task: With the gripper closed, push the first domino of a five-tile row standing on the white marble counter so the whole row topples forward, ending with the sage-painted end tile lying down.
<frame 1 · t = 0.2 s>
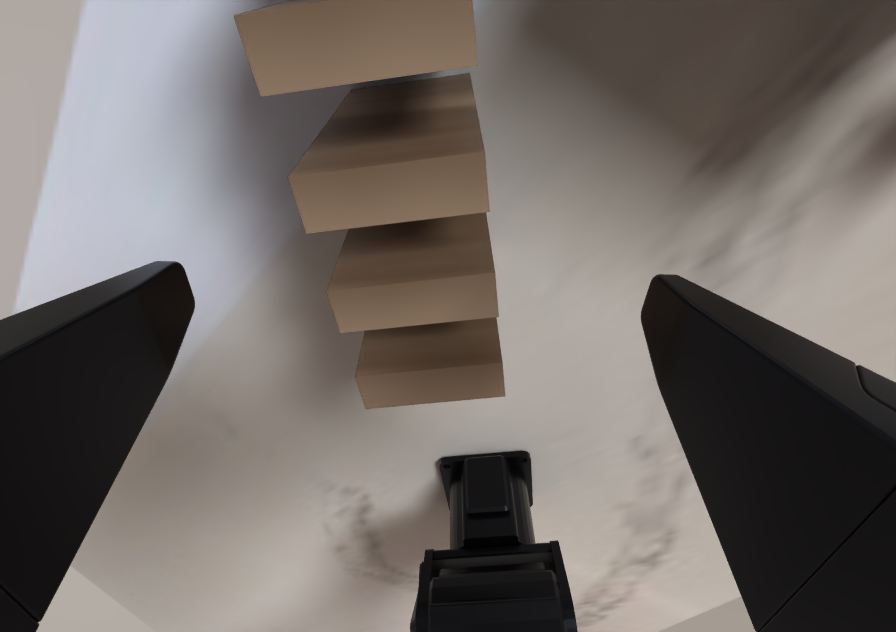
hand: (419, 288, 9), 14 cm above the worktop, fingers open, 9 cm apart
domino 1: (436, 247, 25), on the worktop
domino 4: (397, 5, 18), on the worktop
domino 2: (425, 181, 23), on the worktop
domino 3: (413, 102, 20), on the worktop
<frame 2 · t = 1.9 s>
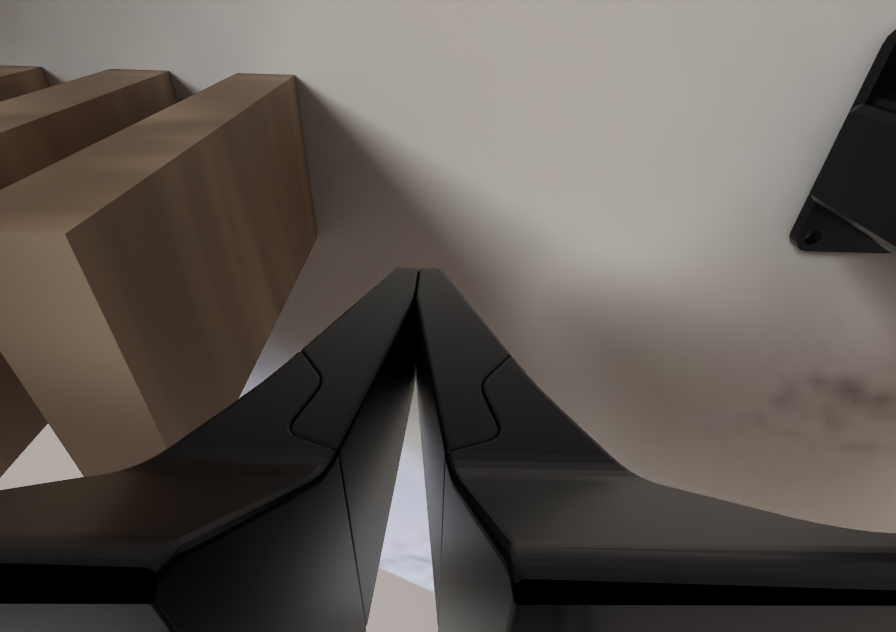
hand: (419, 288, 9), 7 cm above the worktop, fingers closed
domino 1: (281, 162, 15), on the worktop
domino 2: (167, 159, 15), on the worktop
domino 3: (52, 156, 15), on the worktop
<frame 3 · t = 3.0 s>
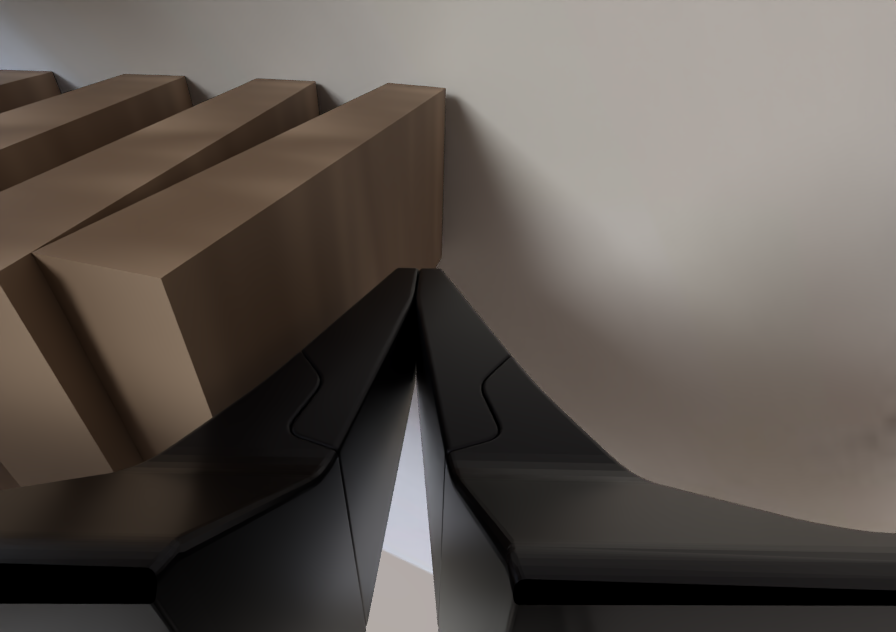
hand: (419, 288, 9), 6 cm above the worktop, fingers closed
domino 1: (417, 178, 14), on the worktop, tilted 15°
domino 4: (63, 164, 14), on the worktop
domino 2: (300, 172, 14), on the worktop
domino 3: (182, 168, 14), on the worktop
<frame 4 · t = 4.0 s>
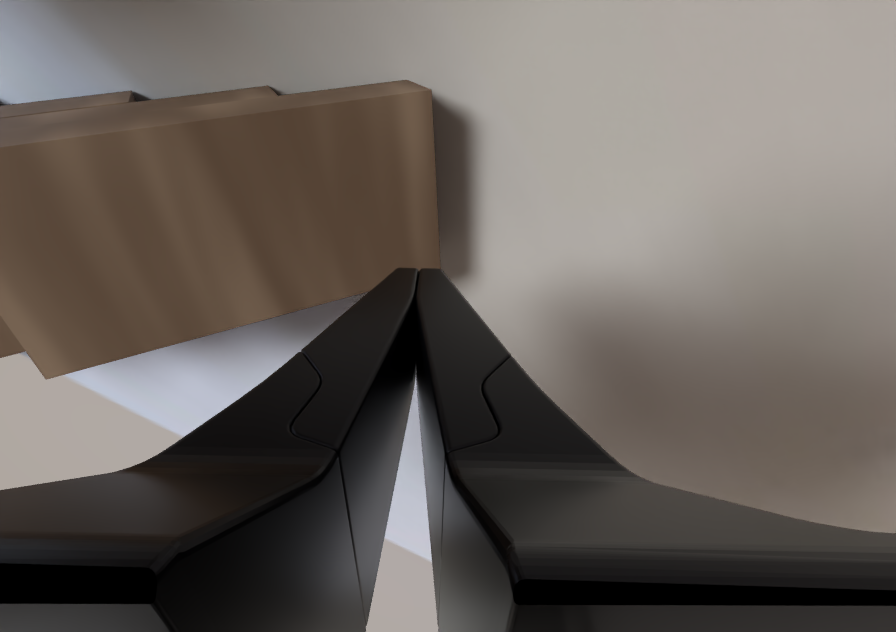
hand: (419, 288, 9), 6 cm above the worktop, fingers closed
domino 1: (424, 181, 14), point 1 cm above the worktop, tilted 64°, touching domino 2
domino 2: (295, 186, 14), point 1 cm above the worktop, tilted 64°, touching domino 1, domino 3
domino 3: (167, 190, 14), point 1 cm above the worktop, tilted 64°, touching domino 2, domino 4
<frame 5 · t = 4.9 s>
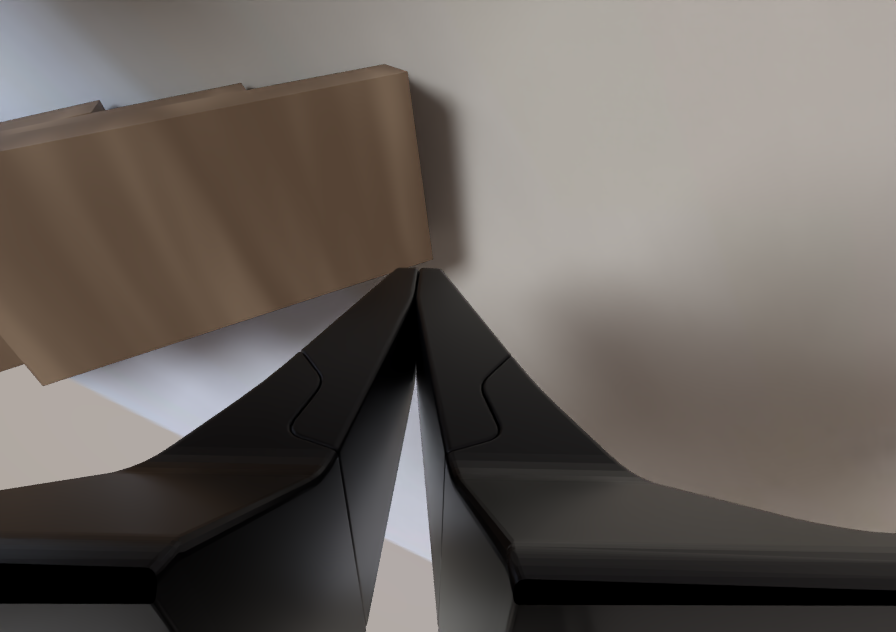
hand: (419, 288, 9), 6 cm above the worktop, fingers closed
domino 1: (410, 168, 13), point 1 cm above the worktop, tilted 64°, touching domino 2
domino 2: (277, 183, 13), point 1 cm above the worktop, tilted 65°, touching domino 1, domino 3
domino 3: (147, 197, 14), point 1 cm above the worktop, tilted 66°, touching domino 2, domino 4
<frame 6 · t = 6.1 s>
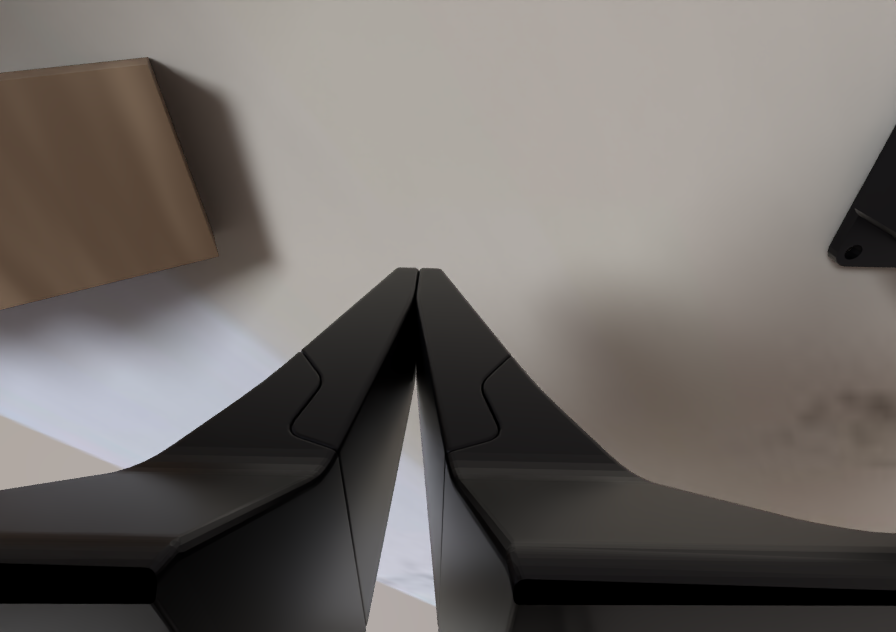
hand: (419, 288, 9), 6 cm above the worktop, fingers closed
domino 1: (185, 163, 13), point 1 cm above the worktop, tilted 64°, touching domino 2
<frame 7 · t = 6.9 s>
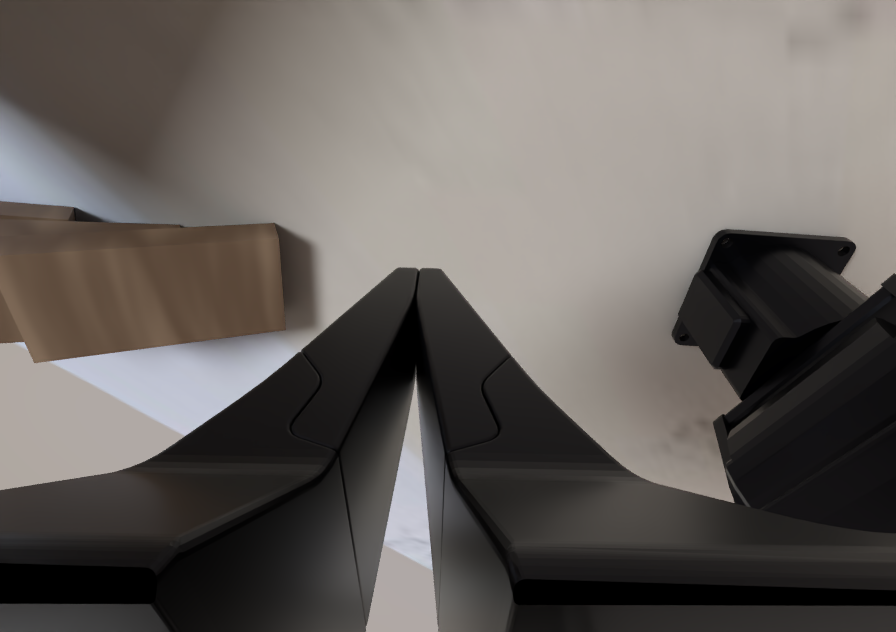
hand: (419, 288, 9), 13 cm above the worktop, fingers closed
domino 1: (280, 278, 23), point 1 cm above the worktop, tilted 66°, touching domino 2
domino 2: (183, 280, 23), point 1 cm above the worktop, tilted 65°, touching domino 1
domino 3: (76, 264, 22), point 1 cm above the worktop, tilted 66°
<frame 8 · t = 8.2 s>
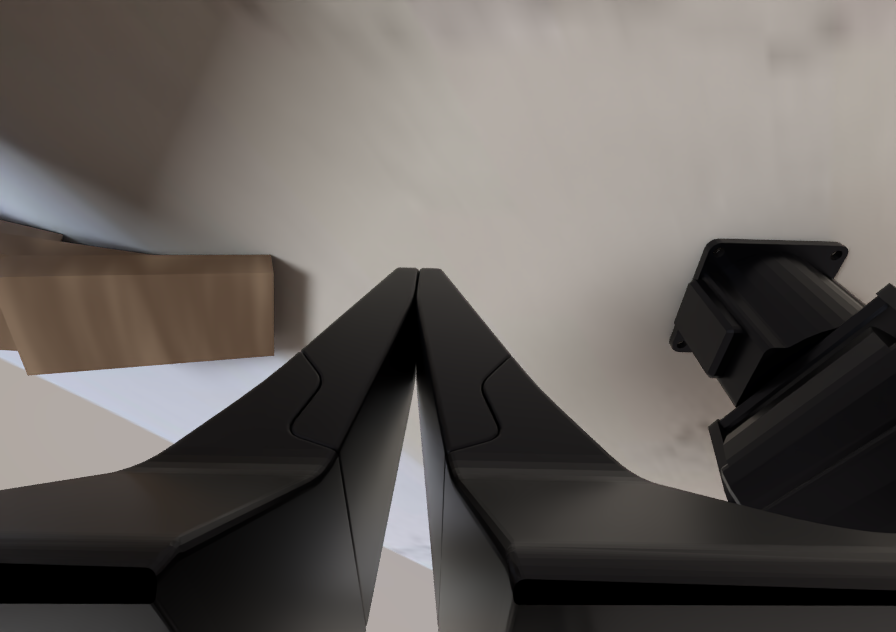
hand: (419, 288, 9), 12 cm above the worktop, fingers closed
domino 1: (272, 306, 24), point 1 cm above the worktop, tilted 69°, touching domino 2
domino 2: (169, 309, 24), point 1 cm above the worktop, tilted 70°, touching domino 1, domino 3
domino 3: (51, 287, 23), point 1 cm above the worktop, tilted 71°, touching domino 2, domino 4
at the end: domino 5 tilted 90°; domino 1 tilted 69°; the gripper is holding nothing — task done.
